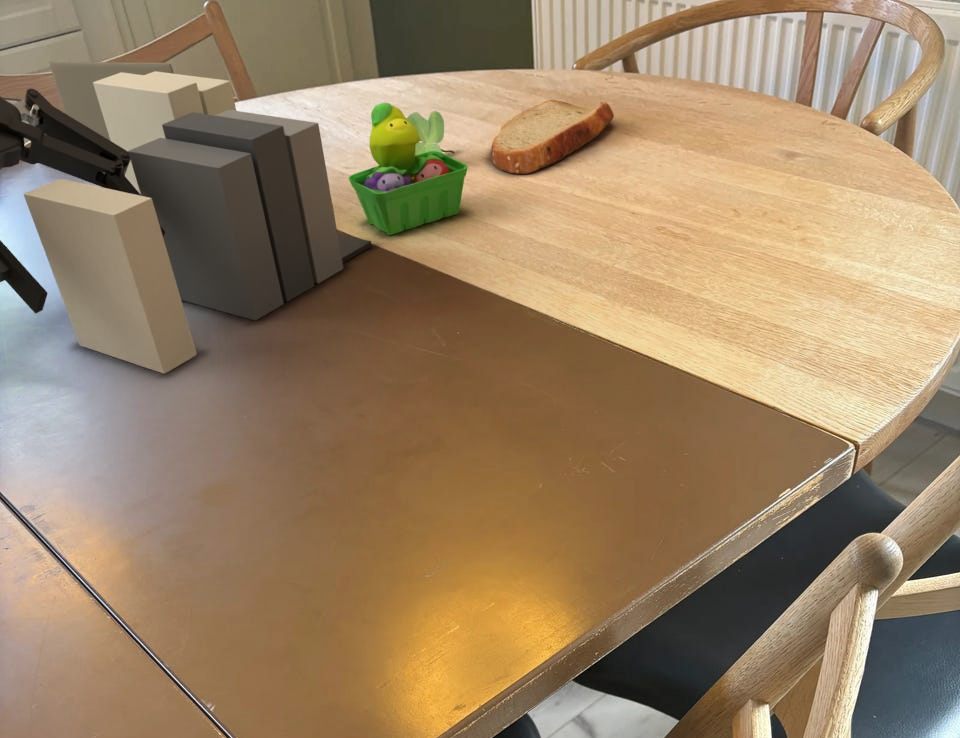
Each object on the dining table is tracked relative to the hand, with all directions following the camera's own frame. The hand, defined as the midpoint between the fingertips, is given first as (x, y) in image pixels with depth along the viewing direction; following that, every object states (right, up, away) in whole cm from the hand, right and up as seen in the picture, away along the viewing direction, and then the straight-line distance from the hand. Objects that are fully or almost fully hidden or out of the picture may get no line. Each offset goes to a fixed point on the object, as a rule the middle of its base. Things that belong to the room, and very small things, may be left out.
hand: (103, 272), depth 91 cm
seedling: (+28, +26, +35) cm, 52 cm away
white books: (+2, +18, +29) cm, 34 cm away
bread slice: (+43, +29, +37) cm, 64 cm away
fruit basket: (+26, +14, +23) cm, 37 cm away
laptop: (-8, +31, +45) cm, 56 cm away
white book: (+2, -6, +4) cm, 7 cm away
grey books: (+13, +5, +14) cm, 20 cm away
